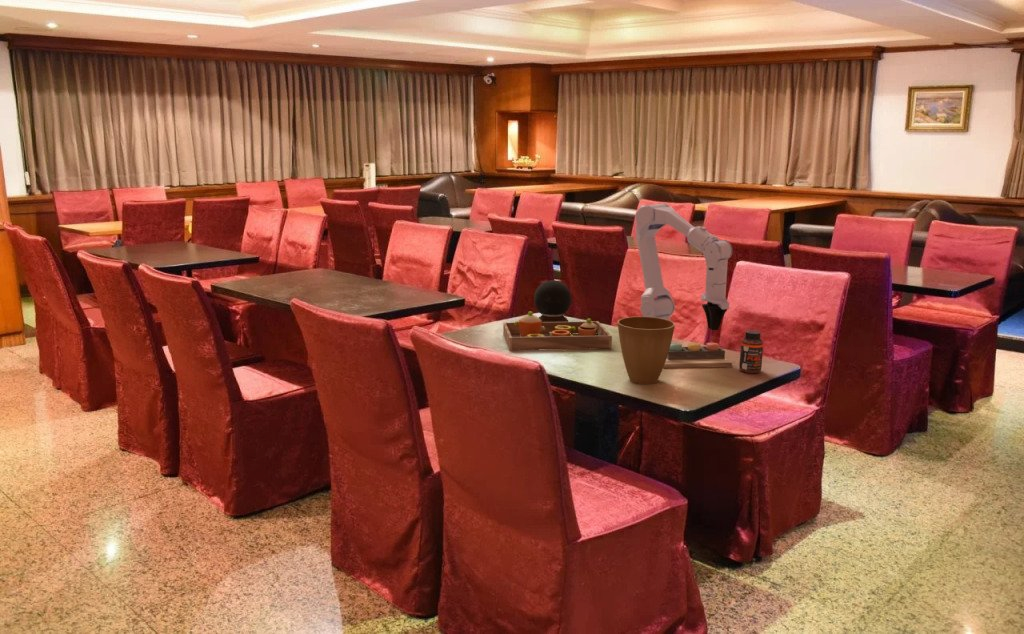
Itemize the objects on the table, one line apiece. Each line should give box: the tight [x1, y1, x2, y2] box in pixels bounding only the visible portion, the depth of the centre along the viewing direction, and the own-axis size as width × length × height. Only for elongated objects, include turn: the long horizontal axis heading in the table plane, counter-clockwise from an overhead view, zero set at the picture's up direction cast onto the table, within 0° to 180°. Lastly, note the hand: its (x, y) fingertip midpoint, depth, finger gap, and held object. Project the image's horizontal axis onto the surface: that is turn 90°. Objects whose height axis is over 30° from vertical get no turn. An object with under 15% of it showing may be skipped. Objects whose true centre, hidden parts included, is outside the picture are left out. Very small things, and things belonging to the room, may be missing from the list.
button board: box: [663, 345, 733, 369], centre depth 244 cm, size 14×20×4 cm
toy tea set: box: [514, 311, 597, 337], centre depth 267 cm, size 26×16×10 cm, turn 113°
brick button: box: [705, 342, 720, 351], centre depth 244 cm, size 4×4×2 cm
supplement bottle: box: [739, 329, 764, 374], centre depth 233 cm, size 6×6×11 cm
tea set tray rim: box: [502, 320, 613, 352], centre depth 267 cm, size 22×32×4 cm
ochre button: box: [687, 342, 701, 351], centre depth 244 cm, size 4×4×2 cm
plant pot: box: [617, 315, 676, 385], centre depth 223 cm, size 15×15×16 cm
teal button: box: [669, 342, 683, 351], centre depth 243 cm, size 4×4×2 cm
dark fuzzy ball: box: [533, 279, 573, 322], centre depth 293 cm, size 13×13×15 cm
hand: (713, 329), depth 243 cm, fingers closed
